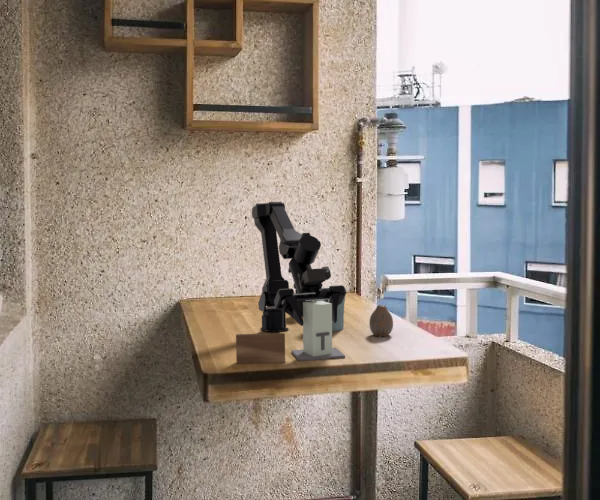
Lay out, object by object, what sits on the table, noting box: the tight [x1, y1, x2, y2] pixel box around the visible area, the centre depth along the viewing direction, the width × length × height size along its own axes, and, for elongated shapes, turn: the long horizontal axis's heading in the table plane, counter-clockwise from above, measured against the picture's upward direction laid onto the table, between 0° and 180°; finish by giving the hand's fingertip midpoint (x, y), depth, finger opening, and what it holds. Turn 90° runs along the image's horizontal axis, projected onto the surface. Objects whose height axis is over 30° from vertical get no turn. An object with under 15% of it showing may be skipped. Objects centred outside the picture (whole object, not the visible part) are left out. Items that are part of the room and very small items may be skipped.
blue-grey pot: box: [313, 287, 346, 332], centre depth 206 cm, size 10×10×12 cm
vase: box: [368, 304, 394, 337], centre depth 196 cm, size 7×7×9 cm
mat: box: [291, 347, 346, 362], centre depth 174 cm, size 12×9×1 cm
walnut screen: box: [235, 332, 286, 365], centre depth 167 cm, size 2×12×7 cm, turn 93°
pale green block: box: [302, 300, 333, 356], centre depth 173 cm, size 6×6×13 cm
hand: (319, 323), depth 172 cm, fingers open, 9 cm apart
